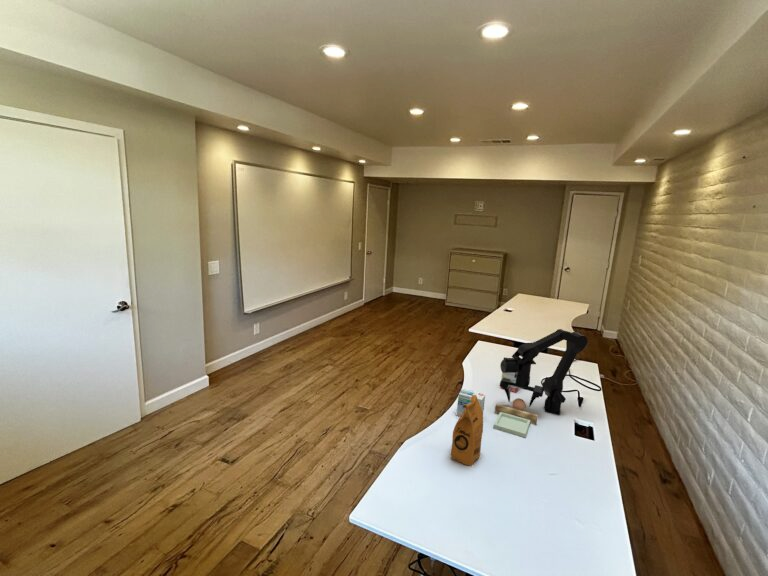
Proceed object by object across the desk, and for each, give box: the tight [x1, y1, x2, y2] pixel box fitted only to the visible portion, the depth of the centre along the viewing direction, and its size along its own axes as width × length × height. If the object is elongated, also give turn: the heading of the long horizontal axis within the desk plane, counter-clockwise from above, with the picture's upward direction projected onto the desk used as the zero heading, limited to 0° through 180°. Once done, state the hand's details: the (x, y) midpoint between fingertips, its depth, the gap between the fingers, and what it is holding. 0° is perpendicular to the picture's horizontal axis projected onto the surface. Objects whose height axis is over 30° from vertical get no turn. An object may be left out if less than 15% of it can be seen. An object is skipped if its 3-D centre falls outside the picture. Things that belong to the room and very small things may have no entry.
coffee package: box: [450, 395, 484, 467], centre depth 140 cm, size 10×12×22 cm
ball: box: [511, 397, 527, 411], centre depth 178 cm, size 6×6×6 cm
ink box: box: [499, 371, 520, 394], centre depth 202 cm, size 9×9×12 cm
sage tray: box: [492, 412, 531, 439], centre depth 165 cm, size 13×13×2 cm
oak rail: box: [494, 403, 539, 426], centre depth 171 cm, size 18×2×4 cm, turn 61°
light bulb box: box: [456, 388, 486, 418], centre depth 170 cm, size 11×7×11 cm, turn 62°
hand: (519, 403), depth 178 cm, fingers open, 9 cm apart
